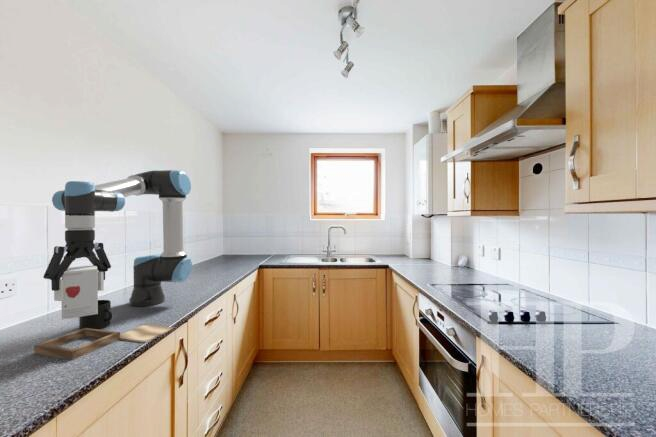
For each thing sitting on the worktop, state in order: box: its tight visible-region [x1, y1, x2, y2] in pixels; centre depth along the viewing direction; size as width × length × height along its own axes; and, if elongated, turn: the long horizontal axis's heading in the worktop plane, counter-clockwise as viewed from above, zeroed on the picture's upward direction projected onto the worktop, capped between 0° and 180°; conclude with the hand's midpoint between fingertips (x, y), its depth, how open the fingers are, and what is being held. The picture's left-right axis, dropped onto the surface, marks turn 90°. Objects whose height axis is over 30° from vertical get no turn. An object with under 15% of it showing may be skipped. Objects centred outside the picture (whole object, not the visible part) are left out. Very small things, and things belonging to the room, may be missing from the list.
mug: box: [78, 299, 113, 330], centre depth 115 cm, size 9×12×9 cm
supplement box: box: [61, 264, 99, 320], centre depth 98 cm, size 9×9×15 cm
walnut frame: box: [33, 328, 121, 361], centre depth 98 cm, size 15×15×2 cm
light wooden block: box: [118, 323, 175, 344], centre depth 109 cm, size 13×13×1 cm
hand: (80, 295), depth 98 cm, fingers closed on supplement box, 12 cm apart
